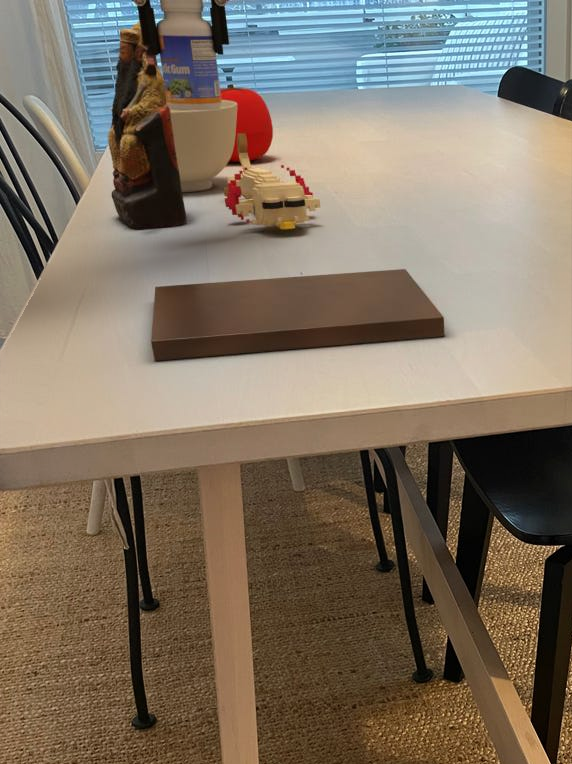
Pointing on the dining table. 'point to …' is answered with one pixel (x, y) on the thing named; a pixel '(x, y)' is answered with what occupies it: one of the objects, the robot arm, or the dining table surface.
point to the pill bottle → (188, 57)
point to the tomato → (250, 121)
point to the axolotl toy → (267, 194)
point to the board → (290, 314)
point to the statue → (143, 141)
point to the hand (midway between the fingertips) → (187, 52)
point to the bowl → (203, 143)
